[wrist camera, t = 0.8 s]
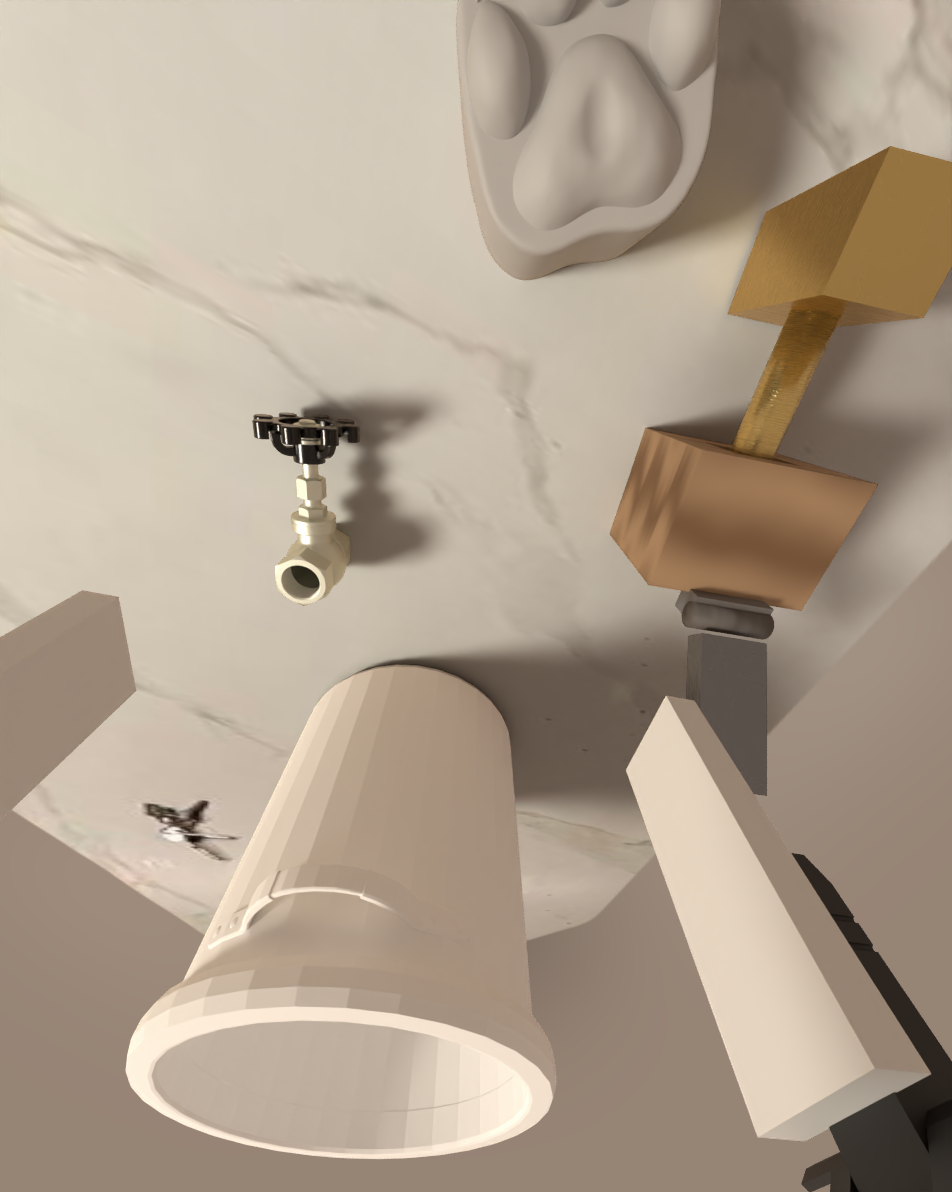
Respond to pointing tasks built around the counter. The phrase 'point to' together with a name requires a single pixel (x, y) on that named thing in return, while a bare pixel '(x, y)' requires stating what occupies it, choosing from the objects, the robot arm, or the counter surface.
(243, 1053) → the bucket
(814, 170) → the counter surface
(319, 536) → the valve
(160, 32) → the counter surface
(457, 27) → the lumpy-topped squat cylinder
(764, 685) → the lever
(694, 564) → the block
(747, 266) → the pin
